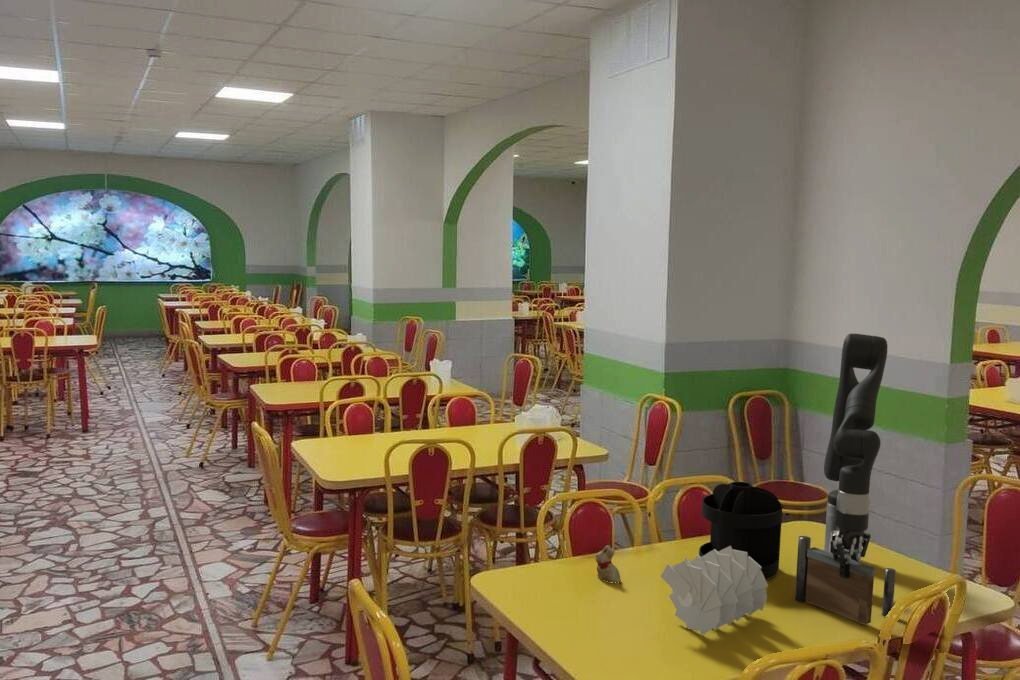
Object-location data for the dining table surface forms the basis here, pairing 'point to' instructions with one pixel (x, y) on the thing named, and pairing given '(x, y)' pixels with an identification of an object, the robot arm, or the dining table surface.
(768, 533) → the container
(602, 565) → the chocolate bunny
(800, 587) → the gate posts
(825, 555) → the gate
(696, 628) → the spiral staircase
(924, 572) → the dining table surface
